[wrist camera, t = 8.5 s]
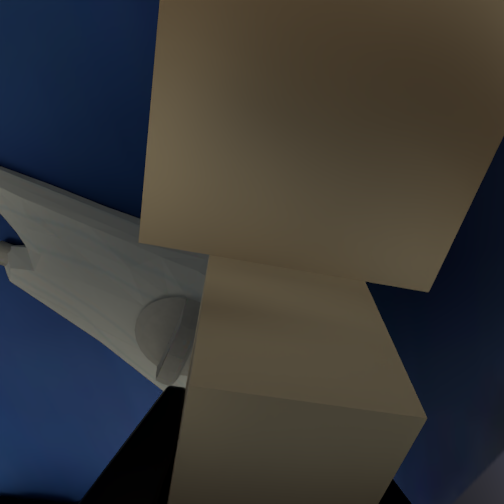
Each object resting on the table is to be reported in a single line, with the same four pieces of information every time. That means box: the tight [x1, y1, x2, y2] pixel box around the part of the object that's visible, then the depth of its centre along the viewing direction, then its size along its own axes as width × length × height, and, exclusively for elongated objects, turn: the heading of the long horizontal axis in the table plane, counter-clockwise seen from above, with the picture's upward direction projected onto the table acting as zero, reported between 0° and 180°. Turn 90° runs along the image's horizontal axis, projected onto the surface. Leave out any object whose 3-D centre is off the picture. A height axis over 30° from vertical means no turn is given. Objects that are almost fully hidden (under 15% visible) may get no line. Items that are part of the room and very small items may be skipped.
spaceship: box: [0, 166, 209, 391], centre depth 17 cm, size 23×7×4 cm, turn 44°
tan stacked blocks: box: [138, 0, 504, 504], centre depth 7 cm, size 14×6×4 cm, turn 168°
